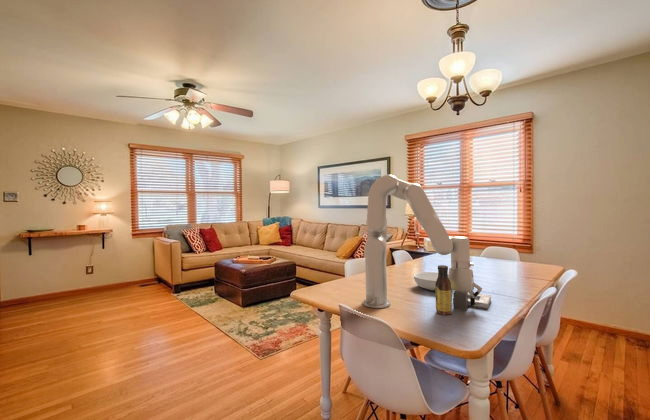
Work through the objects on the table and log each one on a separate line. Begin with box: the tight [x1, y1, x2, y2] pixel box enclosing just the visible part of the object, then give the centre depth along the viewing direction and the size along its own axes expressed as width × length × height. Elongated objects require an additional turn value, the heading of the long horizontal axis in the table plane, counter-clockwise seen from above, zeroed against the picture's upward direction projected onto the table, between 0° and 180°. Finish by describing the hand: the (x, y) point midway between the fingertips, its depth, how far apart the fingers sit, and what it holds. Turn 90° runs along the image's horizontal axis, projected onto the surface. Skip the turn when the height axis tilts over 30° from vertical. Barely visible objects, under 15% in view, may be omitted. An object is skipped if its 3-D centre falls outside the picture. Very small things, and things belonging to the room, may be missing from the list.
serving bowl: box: [413, 271, 438, 291], centre depth 166 cm, size 21×21×7 cm
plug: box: [452, 291, 469, 312], centre depth 134 cm, size 5×5×7 cm
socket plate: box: [452, 292, 492, 310], centre depth 141 cm, size 14×14×3 cm
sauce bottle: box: [434, 264, 453, 316], centre depth 128 cm, size 6×6×20 cm
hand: (460, 304), depth 134 cm, fingers open, 8 cm apart
